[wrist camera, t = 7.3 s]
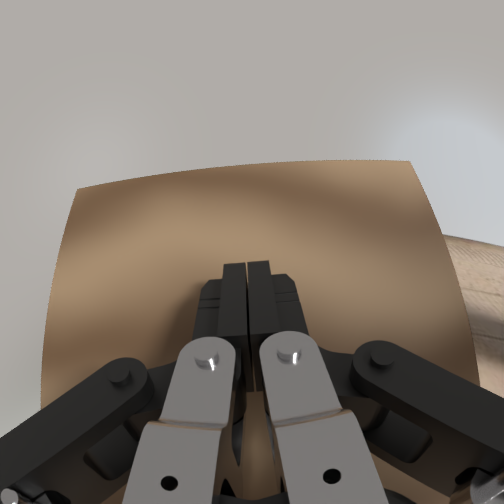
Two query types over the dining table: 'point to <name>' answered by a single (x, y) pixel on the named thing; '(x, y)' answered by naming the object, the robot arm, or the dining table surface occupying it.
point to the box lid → (247, 250)
